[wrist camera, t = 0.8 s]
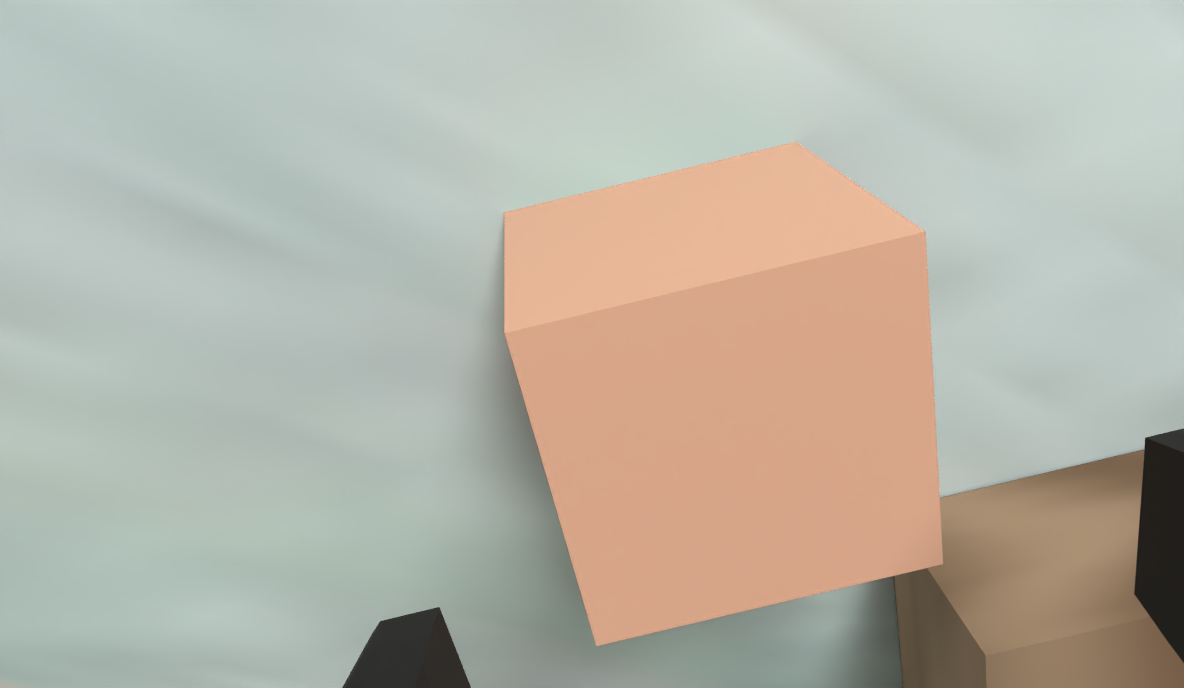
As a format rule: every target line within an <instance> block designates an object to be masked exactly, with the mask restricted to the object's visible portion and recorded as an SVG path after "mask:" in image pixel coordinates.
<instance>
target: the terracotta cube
mask: <svg viewBox="0 0 1184 688" xmlns="http://www.w3.org/2000/svg"><path fill="white" fill-rule="evenodd" d="M504 333H505V337H506V340H507V344H508V347H509V350H510V354H511V357H512V361H513V364H514V367H515V371H516V374H517V378H518V381H519V384H520V388H521V391H522V395H523V398H524V401H525V405H526V408H527V412H528V415H529V418H530V422H531V425H532V429H533V432H534V435H535V439H536V442H537V446H538V449H539V452H540V456H541V459H542V463H543V466H544V469H545V473H546V476H547V480H548V483H549V487H550V490H551V493H552V497H553V500H554V504H555V507H556V510H557V514H558V517H559V521H560V524H561V527H562V531H563V534H564V538H565V541H566V544H567V548H568V551H569V555H570V558H571V561H572V565H573V568H574V572H575V575H576V578H577V582H578V585H579V589H580V592H581V595H582V599H583V602H584V606H585V609H586V612H587V616H588V619H589V623H590V626H591V629H592V633H593V636H594V640H595V643H596V646H599V645H603V644H608V643H612V642H616V641H620V640H625V639H629V638H633V637H637V636H641V635H646V634H650V633H654V632H658V631H663V630H667V629H671V628H675V627H679V626H684V625H688V624H692V623H696V622H701V621H705V620H709V619H713V618H718V617H722V616H726V615H730V614H734V613H739V612H743V611H747V610H751V609H756V608H760V607H764V606H768V605H772V604H777V603H781V602H785V601H789V600H794V599H798V598H802V597H806V596H811V595H815V594H819V593H823V592H827V591H832V590H836V589H840V588H844V587H849V586H853V585H857V584H861V583H865V582H870V581H874V580H878V579H882V578H887V577H891V576H895V575H899V574H903V573H908V572H912V571H916V570H920V569H925V568H929V567H933V566H937V565H942V564H943V552H942V533H941V514H940V495H939V477H938V458H937V439H936V420H935V402H934V383H933V364H932V345H931V327H930V308H929V289H928V270H927V252H926V233H925V231H924V230H922V229H921V228H919V227H918V226H917V225H915V224H914V223H912V222H911V221H909V220H908V219H906V218H905V217H904V216H902V215H901V214H899V213H898V212H896V211H895V210H893V209H892V208H891V207H889V206H888V205H886V204H885V203H883V202H882V201H881V200H879V199H878V198H876V197H875V196H873V195H872V194H870V193H869V192H868V191H866V190H865V189H863V188H862V187H860V186H859V185H857V184H856V183H855V182H853V181H852V180H850V179H849V178H847V177H846V176H845V175H843V174H842V173H840V172H839V171H837V170H836V169H834V168H833V167H832V166H830V165H829V164H827V163H826V162H824V161H823V160H822V159H820V158H819V157H817V156H816V155H814V154H813V153H811V152H810V151H809V150H807V149H806V148H804V147H803V146H801V145H800V144H798V143H797V142H793V143H789V144H785V145H781V146H777V147H772V148H768V149H764V150H760V151H756V152H752V153H748V154H744V155H739V156H735V157H731V158H727V159H723V160H719V161H715V162H711V163H706V164H702V165H698V166H694V167H690V168H686V169H682V170H678V171H673V172H669V173H665V174H661V175H657V176H653V177H649V178H644V179H640V180H636V181H632V182H628V183H624V184H620V185H616V186H611V187H607V188H603V189H599V190H595V191H591V192H587V193H583V194H578V195H574V196H570V197H566V198H562V199H558V200H554V201H550V202H545V203H541V204H537V205H533V206H529V207H525V208H521V209H516V210H512V211H508V212H504Z"/></svg>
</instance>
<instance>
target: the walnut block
mask: <svg viewBox="0 0 1184 688" xmlns="http://www.w3.org/2000/svg"><path fill="white" fill-rule="evenodd" d="M1143 464H1144V450H1140V451H1136V452H1132V453H1128V454H1124V455H1119V456H1115V457H1111V458H1107V459H1103V460H1098V461H1094V462H1090V463H1086V464H1081V465H1077V466H1073V467H1069V468H1065V469H1060V470H1056V471H1052V472H1048V473H1044V474H1039V475H1035V476H1031V477H1027V478H1022V479H1018V480H1014V481H1010V482H1006V483H1001V484H997V485H993V486H989V487H985V488H980V489H976V490H972V491H968V492H963V493H959V494H955V495H951V496H947V497H942V498H940V514H941V533H942V552H943V564H942V565H937V566H933V567H929V568H925V569H920V570H916V571H912V572H908V573H903V574H899V575H895V576H894V582H895V593H896V605H897V617H898V629H899V640H900V652H901V664H902V675H903V687H904V688H1184V663H1183V661H1182V660H1181V659H1180V657H1179V656H1178V655H1177V653H1176V652H1175V651H1174V649H1173V648H1172V647H1171V645H1170V644H1169V643H1168V641H1167V640H1166V638H1165V637H1164V636H1163V634H1162V633H1161V631H1160V630H1159V629H1158V627H1157V626H1156V624H1155V623H1154V621H1153V620H1152V619H1151V617H1150V616H1149V614H1148V613H1147V611H1146V610H1145V609H1144V607H1143V606H1142V604H1141V603H1140V602H1139V600H1138V599H1137V597H1136V596H1135V594H1134V589H1135V575H1136V561H1137V547H1138V534H1139V520H1140V506H1141V492H1142V478H1143Z"/></svg>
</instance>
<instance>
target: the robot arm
mask: <svg viewBox="0 0 1184 688" xmlns="http://www.w3.org/2000/svg"><path fill="white" fill-rule="evenodd" d="M1134 594H1135V596H1136V597H1137V599H1138V600H1139V602H1140V603H1141V604H1142V606H1143V607H1144V609H1145V610H1146V611H1147V613H1148V614H1149V616H1150V617H1151V619H1152V620H1153V621H1154V623H1155V624H1156V626H1157V627H1158V629H1159V630H1160V631H1161V633H1162V634H1163V636H1164V637H1165V638H1166V640H1167V641H1168V643H1169V644H1170V645H1171V647H1172V648H1173V649H1174V651H1175V652H1176V653H1177V655H1178V656H1179V657H1180V659H1181V660H1182V661H1183V663H1184V429H1180V430H1176V431H1171V432H1167V433H1163V434H1159V435H1155V436H1151V437H1146V438H1145V450H1144V464H1143V478H1142V492H1141V506H1140V520H1139V534H1138V547H1137V561H1136V575H1135V589H1134ZM343 688H471V687H470V684H469V682H468V679H467V677H466V674H465V671H464V669H463V666H462V664H461V661H460V659H459V656H458V654H457V651H456V648H455V646H454V643H453V641H452V638H451V636H450V633H449V631H448V628H447V626H446V623H445V620H444V618H443V615H442V613H441V610H440V608H439V607H438V608H434V609H429V610H425V611H421V612H417V613H413V614H409V615H404V616H400V617H396V618H392V619H388V620H384V621H380V623H379V624H378V626H377V627H376V629H375V630H374V632H373V633H372V635H371V637H370V639H369V640H368V642H367V644H366V646H365V648H364V649H363V651H362V653H361V655H360V657H359V658H358V660H357V662H356V664H355V666H354V667H353V669H352V671H351V673H350V675H349V677H348V678H347V680H346V682H345V684H344V686H343Z"/></svg>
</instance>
